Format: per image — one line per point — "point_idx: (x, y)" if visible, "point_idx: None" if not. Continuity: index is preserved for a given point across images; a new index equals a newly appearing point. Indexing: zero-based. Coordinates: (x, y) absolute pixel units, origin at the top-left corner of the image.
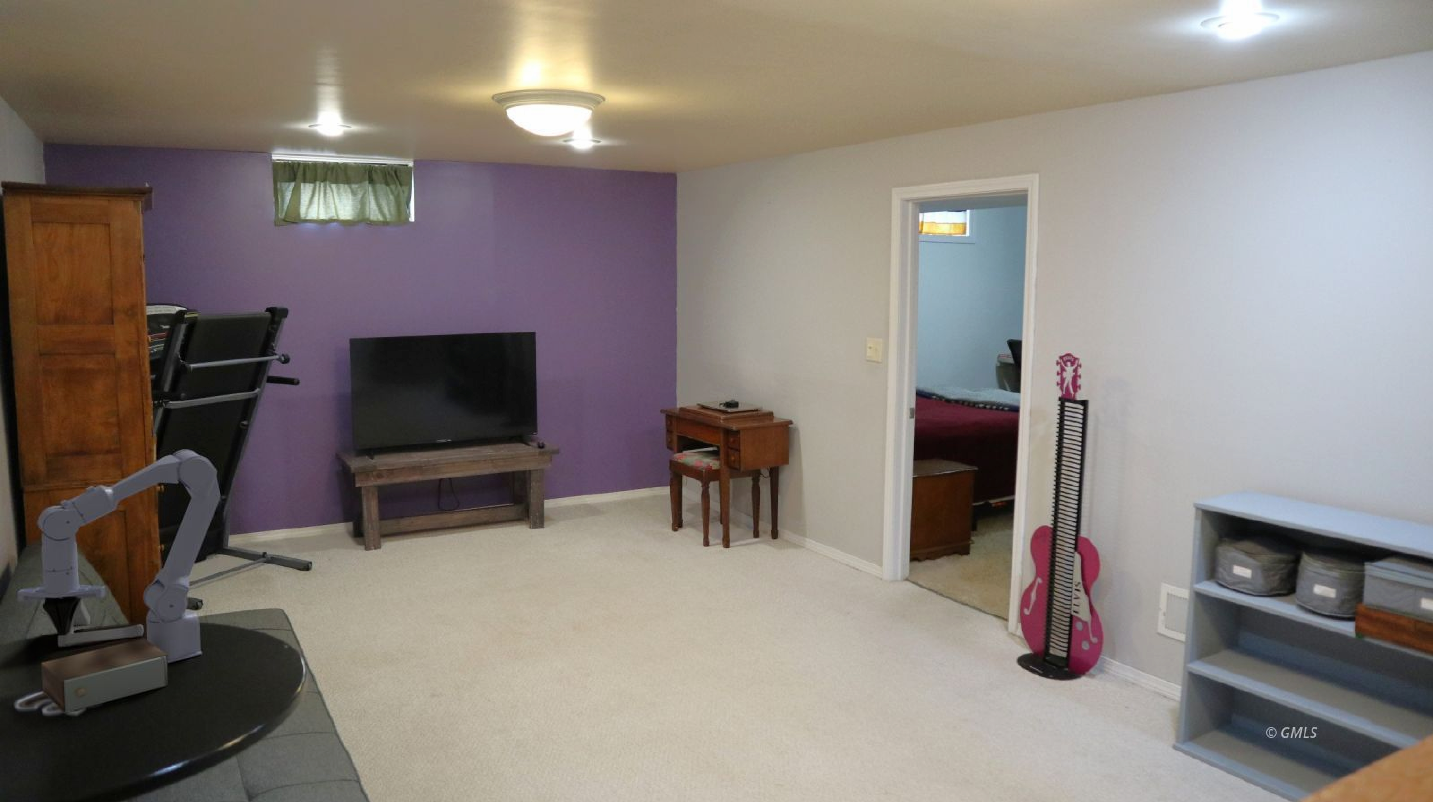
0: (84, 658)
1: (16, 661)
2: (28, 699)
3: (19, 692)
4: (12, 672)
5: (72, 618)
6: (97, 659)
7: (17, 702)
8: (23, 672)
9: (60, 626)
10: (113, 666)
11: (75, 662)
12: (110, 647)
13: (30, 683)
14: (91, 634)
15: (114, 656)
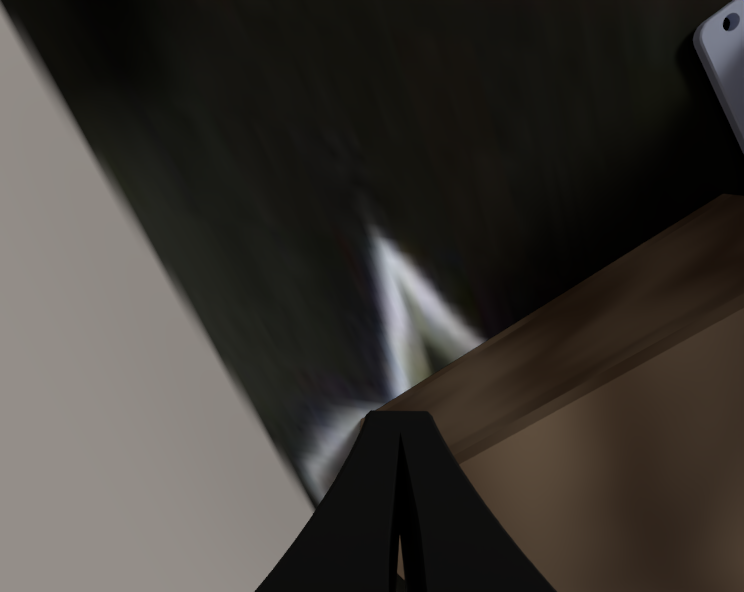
0: (554, 503)
1: (37, 29)
2: (337, 465)
3: (274, 405)
4: (119, 192)
5: (477, 492)
6: (628, 527)
7: (313, 481)
8: (169, 199)
9: (396, 575)
10: None
11: (522, 544)
12: (675, 366)
13: (269, 329)
14: None
15: (715, 502)
